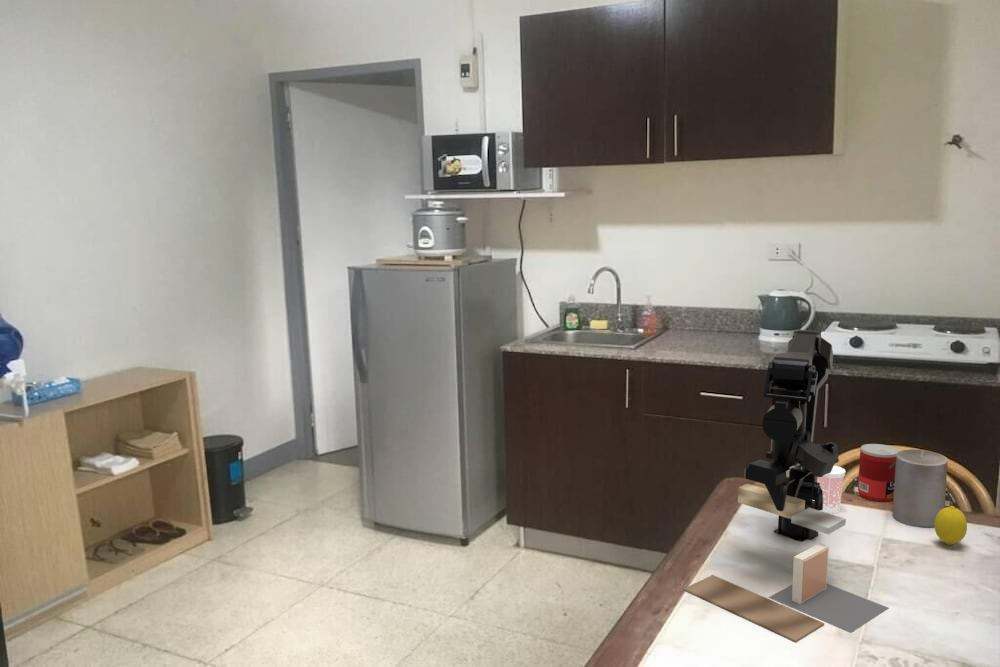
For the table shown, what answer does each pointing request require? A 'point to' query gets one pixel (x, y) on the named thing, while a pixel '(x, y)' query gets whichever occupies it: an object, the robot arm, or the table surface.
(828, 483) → the beverage cup
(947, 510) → the lemon
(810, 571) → the tile
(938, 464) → the pillar candle
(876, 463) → the canned food
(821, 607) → the mat
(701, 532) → the table surface
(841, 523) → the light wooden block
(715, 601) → the board
